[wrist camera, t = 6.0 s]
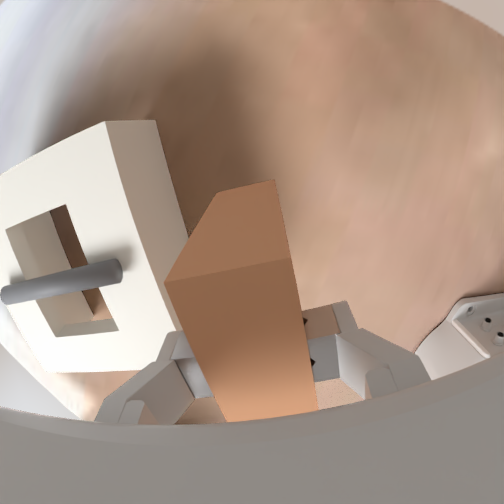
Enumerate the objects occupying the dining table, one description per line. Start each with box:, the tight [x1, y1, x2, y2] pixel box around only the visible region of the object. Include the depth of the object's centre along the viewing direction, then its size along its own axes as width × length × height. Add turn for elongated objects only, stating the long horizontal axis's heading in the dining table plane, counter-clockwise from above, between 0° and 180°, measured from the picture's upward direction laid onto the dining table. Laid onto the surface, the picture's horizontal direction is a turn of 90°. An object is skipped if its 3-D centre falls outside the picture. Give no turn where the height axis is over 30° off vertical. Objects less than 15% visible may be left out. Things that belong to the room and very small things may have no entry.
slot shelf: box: [0, 120, 189, 372], centre depth 24 cm, size 16×18×12 cm
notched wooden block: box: [163, 180, 318, 422], centre depth 13 cm, size 3×7×10 cm, turn 13°
